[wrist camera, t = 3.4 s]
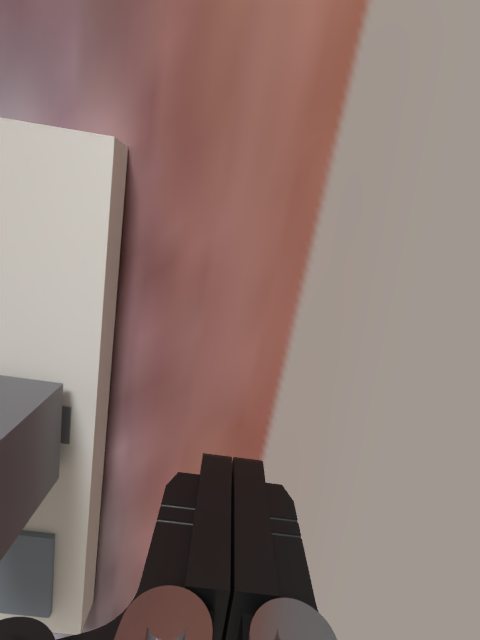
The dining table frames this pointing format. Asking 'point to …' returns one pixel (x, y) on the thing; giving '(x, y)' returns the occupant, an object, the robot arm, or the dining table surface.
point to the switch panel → (60, 346)
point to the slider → (27, 450)
